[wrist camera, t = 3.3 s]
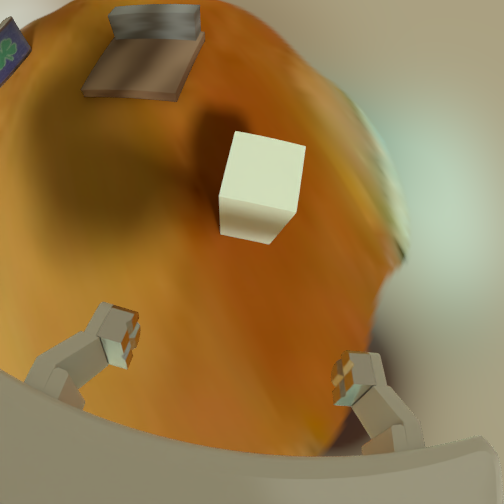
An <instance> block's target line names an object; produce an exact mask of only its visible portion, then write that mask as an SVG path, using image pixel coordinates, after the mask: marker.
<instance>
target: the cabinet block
mask: <svg viewBox="0 0 504 504" xmlns="http://www.w3.org/2000/svg"><path fill="white" fill-rule="evenodd" d="M305 148H306V146H302V145H298V144H294V143H290V142H285V141H281V140H277V139H272V138H268V137H263V136H259V135H254V134H249V133H244V132H239V131H235V134H234V138H233V141H232V145H231V149H230V153H229V157H228V161H227V165H226V169H225V173H224V177H223V181H222V185H221V189H220V193H219V215H220V234H221V235H226V236H231V237H236V238H241V239H246V240H251V241H256V242H261V243H265V244H270V243H271V242H272V241H273V239H274V238H275V237H276V236H277V235H278V233H279V232H280V231H281V230H282V229H283V228H284V226H285V225H286V224H287V223H288V222H289V221H290V219H291V218H292V217H293V216H294V215H295V213H296V211H297V204H298V197H299V191H300V184H301V177H302V170H303V163H304V155H305Z"/></svg>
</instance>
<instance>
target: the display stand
mask: <svg viewBox="0 0 504 504" xmlns="http://www.w3.org/2000/svg"><path fill="white" fill-rule="evenodd" d="M108 18H109V21H110V24H111V27H112V30H113V33H114V36H115V37H114V38H113V40H112V41H111V43H110V44H109V45H108V47H107V48H106V50H105V51H104V53H103V54H102V56H101V57H100V59H99V60H98V62H97V63H96V65H95V66H94V68H93V70H92V71H91V73H90V75H89V76H88V78H87V80H86V81H85V83H84V85H83V86H82V88H81V91H82V93H83V95H84V96H85V97H120V98H139V99H153V100H164V101H174V102H177V100H178V98H179V95H180V93H181V91H182V88H183V86H184V84H185V81H186V79H187V77H188V75H189V72H190V70H191V68H192V66H193V64H194V62H195V59H196V57H197V55H198V53H199V51H200V49H201V47H202V45H203V43H204V41H205V32H201V27H200V5H187V4H151V5H132V6H120V7H115V8H114V9H113V10H112V11H111V12H110V14H109V15H108Z"/></svg>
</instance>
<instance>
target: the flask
mask: <svg viewBox="0 0 504 504" xmlns="http://www.w3.org/2000/svg"><path fill="white" fill-rule="evenodd" d="M30 52H31V47H30V45H29V44H28V43H27V41H26V39H25V38H24V36H23V35H22V33H21V31H20V30H19V28H18V27H17V25H16V23H15V22H14V20H13V18H12V17H8V18H6V19H5V20H3V21H2V23H1V24H0V87H1V86H2V85H3V84H4V83H5V82H6V81H7V80H8V79H9V77H10V76H11V75H12V74H13V73H14V72H15V70H16V69H17V68H18V67H19V66H20V64H21V63H22V62H23V61H24V60H25V59H26V57H27V56H28V55H29V53H30Z"/></svg>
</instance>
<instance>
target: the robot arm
mask: <svg viewBox="0 0 504 504" xmlns="http://www.w3.org/2000/svg"><path fill="white" fill-rule="evenodd" d="M138 319H139V315H138V312H136V311H132V310H129V309H126V308H122V307H119V306H116V305H113V304H109V303H106V302H102V303H100V304H99V306H98V308H97V309H96V311H95V313H94V315H93V317H92V318H91V320H90V322H89V324H88V326H87V327H86V329H85V331H84V332H82V331H80V332H78V333H77V334H75V335H73V336H72V337H70V338H68V339H66V340H65V341H63V342H61V343H60V344H58V345H56V346H55V347H53V348H51V349H49V350H48V351H46V352H44V353H43V354H41V355H39V356H38V357H37V358H36V360H35V362H34V364H33V366H32V367H31V369H30V371H29V373H28V375H27V377H26V379H25V381H24V382H22V381H20V380H18V379H17V378H15V377H13V376H11V375H10V374H8V373H6V372H5V371H3V370H1V369H0V504H503V485H502V475H501V467H500V461H499V458H498V454H497V452H496V451H495V450H494V448H493V447H492V446H491V445H490V444H489V442H488V441H487V440H486V439H485V438H484V437H482V436H473V437H470V438H466V439H462V440H458V441H454V442H450V443H445V444H441V445H436V446H431V447H425V444H424V438H423V433H422V428H421V423H420V421H419V420H418V419H417V418H416V416H415V415H414V414H413V413H412V412H411V411H410V409H409V408H408V407H407V406H406V404H405V403H404V402H403V401H402V400H401V399H400V397H399V396H398V395H397V394H396V393H395V392H394V390H393V389H392V388H391V387H390V386H387V383H386V379H385V374H384V370H383V366H382V361H381V357H380V355H379V354H378V353H369V352H360V351H349V350H346V351H344V352H343V353H342V354H341V359H340V360H338V361H336V363H335V364H334V366H333V369H332V373H331V381H332V383H333V385H334V386H335V388H334V390H333V391H332V392H333V402H334V405H340V406H352V409H353V410H354V412H355V414H356V415H357V417H358V418H359V420H360V422H361V423H362V424H363V426H364V428H365V429H366V431H367V433H368V434H369V436H370V437H371V439H372V440H370V441H369V442H367V443H366V444H364V445H363V446H362V455H361V456H360V455H359V456H335V457H307V456H283V455H269V454H258V453H249V452H240V451H233V450H226V449H220V448H214V447H208V446H202V445H197V444H192V443H188V442H183V441H178V440H174V439H170V438H166V437H162V436H158V435H154V434H151V433H147V432H144V431H140V430H137V429H134V428H130V427H127V426H124V425H121V424H118V423H115V422H112V421H109V420H107V419H104V418H101V417H98V416H96V415H93V414H91V413H88V412H85V411H83V407H84V404H85V400H84V398H83V397H82V395H81V394H80V392H79V390H78V389H79V388H80V387H82V386H83V385H84V384H85V383H87V382H88V381H89V380H90V379H92V378H93V377H94V376H95V375H97V374H98V373H99V372H100V371H102V370H103V369H104V368H105V367H107V366H108V364H110V365H114V366H117V367H121V368H124V369H128V367H129V365H130V362H131V360H132V357H133V354H132V350H133V349H134V348H136V347H137V344H138V341H139V337H140V325H139V324H138V322H137V321H138Z"/></svg>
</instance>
